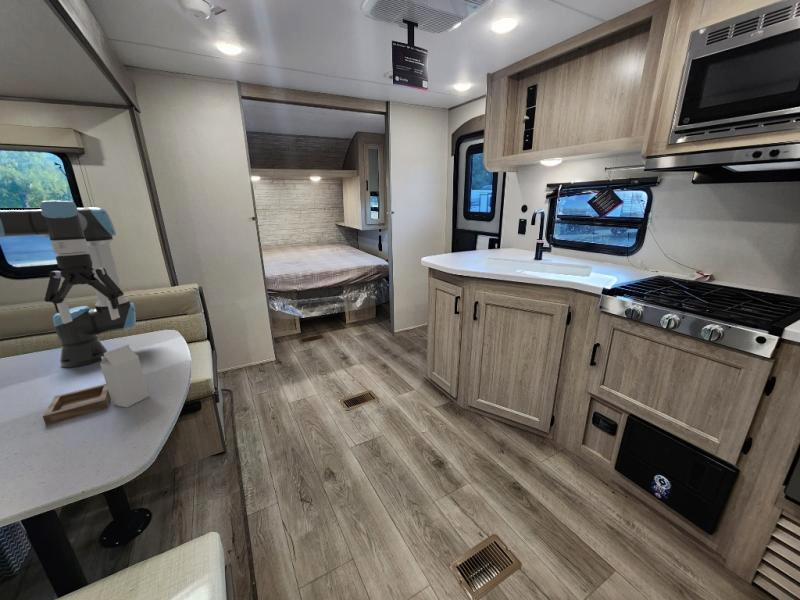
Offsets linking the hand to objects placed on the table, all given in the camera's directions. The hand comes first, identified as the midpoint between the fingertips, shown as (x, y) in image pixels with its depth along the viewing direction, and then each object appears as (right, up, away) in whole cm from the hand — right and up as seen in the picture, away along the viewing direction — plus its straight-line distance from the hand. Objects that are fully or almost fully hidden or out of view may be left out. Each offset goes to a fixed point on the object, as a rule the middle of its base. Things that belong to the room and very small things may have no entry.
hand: (92, 320), depth 102 cm
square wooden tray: (-7, -29, +3) cm, 30 cm away
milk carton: (+7, -28, +6) cm, 29 cm away
